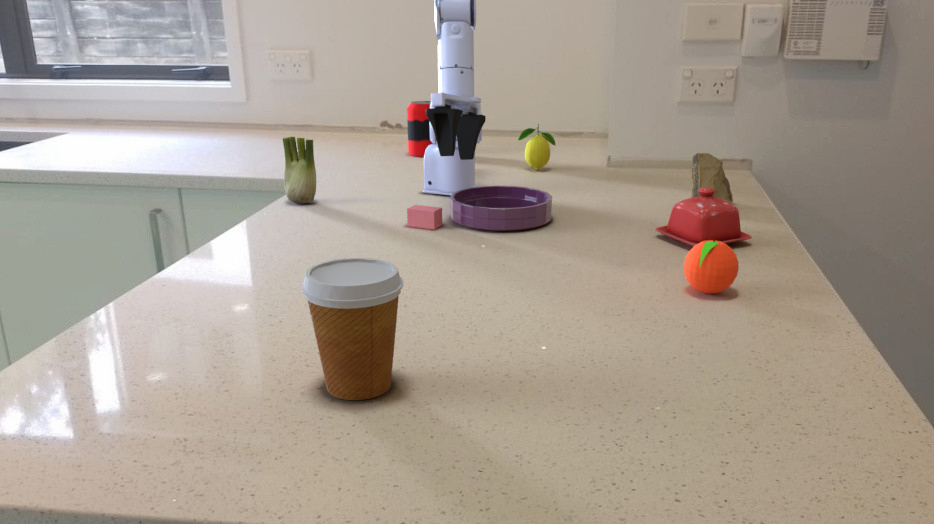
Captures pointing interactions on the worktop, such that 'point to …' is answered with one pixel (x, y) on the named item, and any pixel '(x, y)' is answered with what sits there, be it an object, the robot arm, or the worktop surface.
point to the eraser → (424, 217)
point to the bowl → (501, 208)
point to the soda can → (418, 128)
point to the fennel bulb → (299, 170)
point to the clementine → (711, 266)
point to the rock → (709, 176)
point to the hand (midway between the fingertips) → (457, 157)
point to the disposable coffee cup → (354, 323)
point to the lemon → (537, 148)
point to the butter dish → (704, 220)
